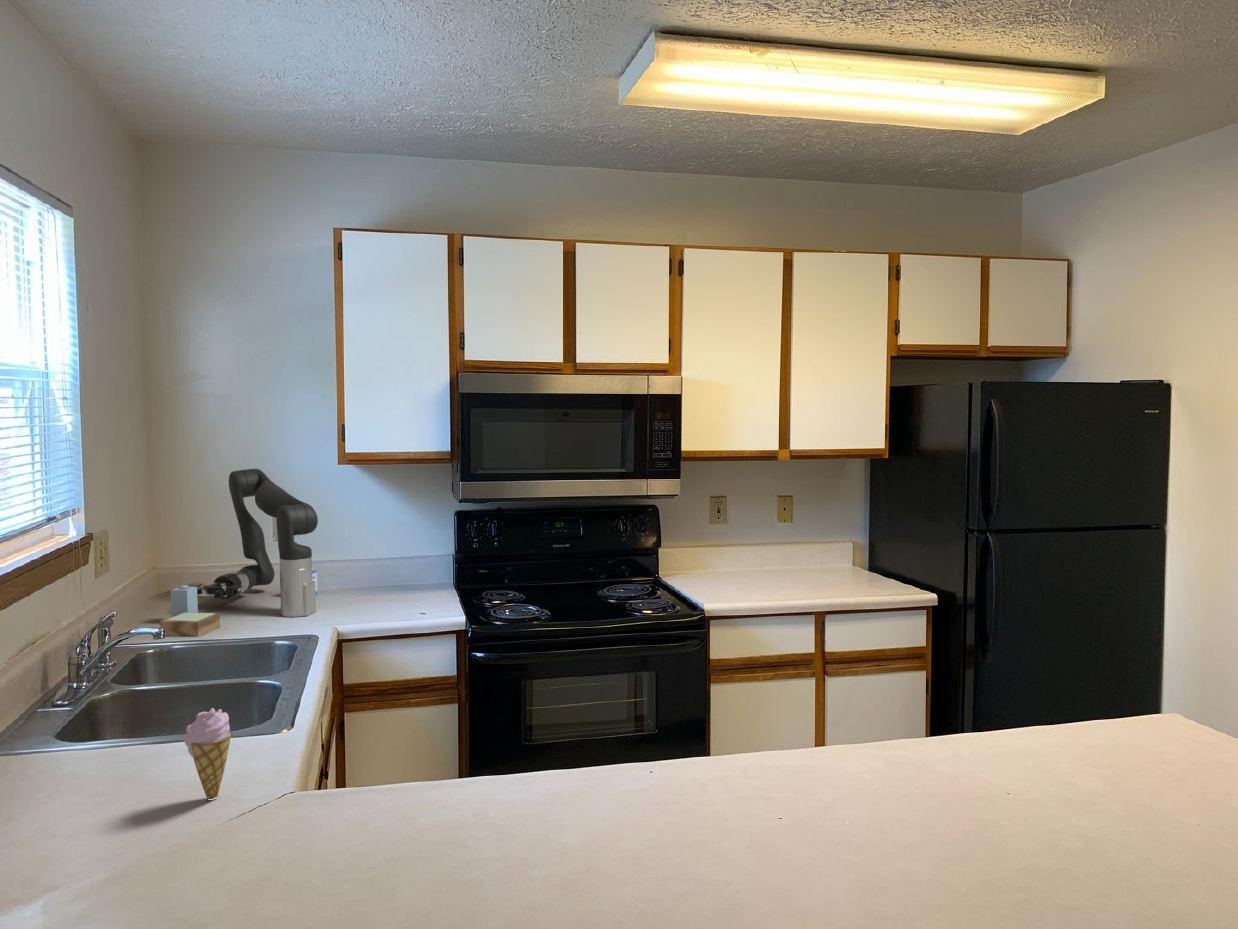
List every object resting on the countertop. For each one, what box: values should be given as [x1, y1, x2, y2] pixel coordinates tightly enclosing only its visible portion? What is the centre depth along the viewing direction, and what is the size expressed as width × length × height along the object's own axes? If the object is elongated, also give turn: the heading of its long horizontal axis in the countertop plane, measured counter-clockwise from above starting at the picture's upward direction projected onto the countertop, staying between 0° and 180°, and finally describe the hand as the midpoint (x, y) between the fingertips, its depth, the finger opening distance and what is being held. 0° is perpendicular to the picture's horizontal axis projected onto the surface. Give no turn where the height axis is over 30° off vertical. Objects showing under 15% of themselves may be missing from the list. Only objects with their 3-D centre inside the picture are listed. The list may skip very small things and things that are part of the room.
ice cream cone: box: [183, 707, 232, 799], centre depth 141 cm, size 7×6×15 cm
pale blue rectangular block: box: [170, 584, 199, 617], centre depth 259 cm, size 5×5×11 cm
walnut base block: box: [159, 612, 221, 638], centre depth 248 cm, size 11×11×4 cm
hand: (202, 595), depth 268 cm, fingers open, 8 cm apart
